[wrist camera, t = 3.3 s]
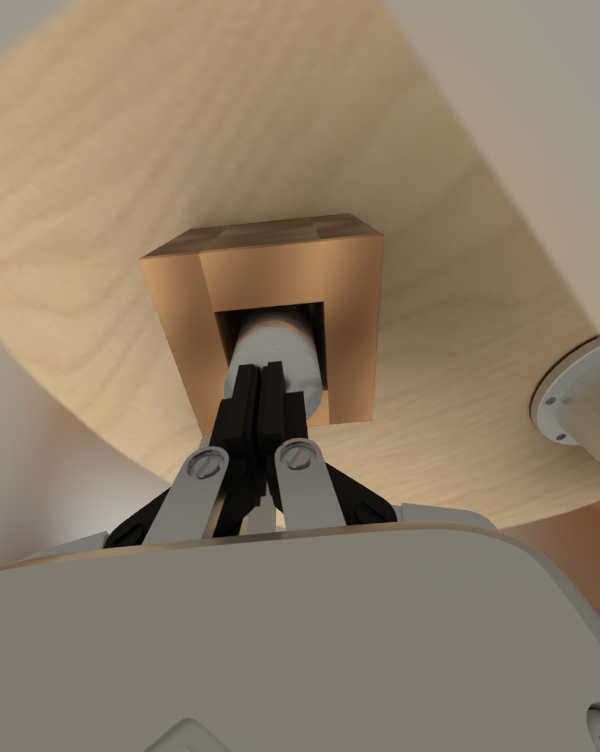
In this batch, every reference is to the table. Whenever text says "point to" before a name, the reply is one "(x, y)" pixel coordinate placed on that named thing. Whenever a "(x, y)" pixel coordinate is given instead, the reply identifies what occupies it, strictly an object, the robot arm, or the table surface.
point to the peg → (280, 349)
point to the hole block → (272, 303)
